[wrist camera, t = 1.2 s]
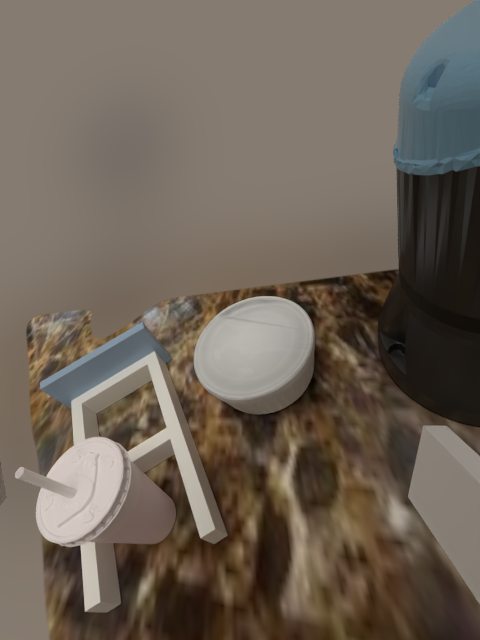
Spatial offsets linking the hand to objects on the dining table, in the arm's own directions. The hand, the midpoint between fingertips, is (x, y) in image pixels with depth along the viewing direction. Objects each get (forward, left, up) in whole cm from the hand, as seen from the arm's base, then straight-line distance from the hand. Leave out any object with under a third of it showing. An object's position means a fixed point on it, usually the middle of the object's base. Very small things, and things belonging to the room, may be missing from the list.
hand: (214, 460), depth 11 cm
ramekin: (-11, -11, -18) cm, 24 cm away
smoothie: (+5, -12, -18) cm, 23 cm away
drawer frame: (+2, -17, -18) cm, 25 cm away
